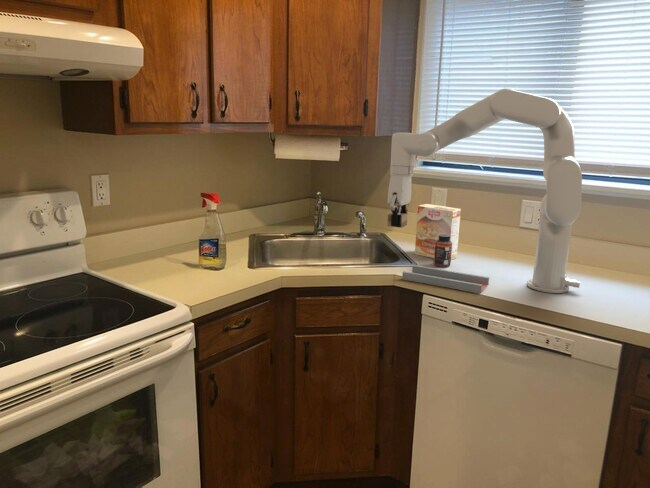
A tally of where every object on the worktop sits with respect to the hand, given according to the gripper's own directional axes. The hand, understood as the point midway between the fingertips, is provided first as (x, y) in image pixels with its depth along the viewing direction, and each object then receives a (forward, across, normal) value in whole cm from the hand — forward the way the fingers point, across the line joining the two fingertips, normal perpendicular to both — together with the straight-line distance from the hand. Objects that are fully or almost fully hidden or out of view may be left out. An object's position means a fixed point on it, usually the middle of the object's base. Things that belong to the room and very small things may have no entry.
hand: (399, 224), depth 182 cm
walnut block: (+1, 0, -1) cm, 1 cm away
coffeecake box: (+18, -30, +4) cm, 35 cm away
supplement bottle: (+18, -19, +10) cm, 28 cm away
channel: (+17, 0, +17) cm, 24 cm away
